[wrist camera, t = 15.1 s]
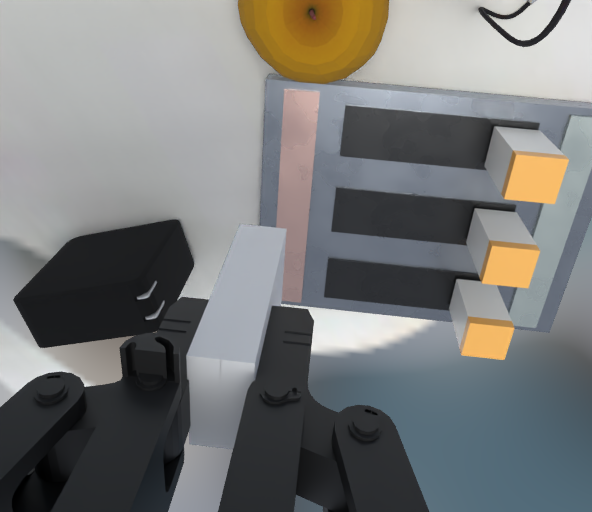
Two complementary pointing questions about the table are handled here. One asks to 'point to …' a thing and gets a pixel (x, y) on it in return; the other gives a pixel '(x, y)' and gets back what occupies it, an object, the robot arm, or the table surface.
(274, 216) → the panel
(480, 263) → the block
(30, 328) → the electronic device
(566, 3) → the multimeter
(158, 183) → the table surface
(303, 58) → the apple
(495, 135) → the breaker near
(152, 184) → the table surface
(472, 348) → the breaker far
